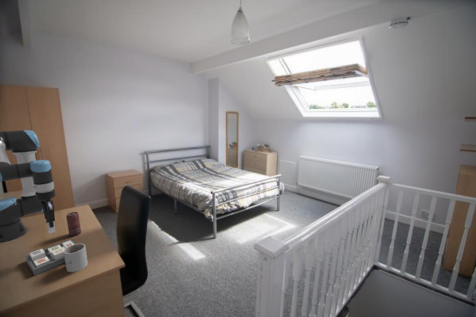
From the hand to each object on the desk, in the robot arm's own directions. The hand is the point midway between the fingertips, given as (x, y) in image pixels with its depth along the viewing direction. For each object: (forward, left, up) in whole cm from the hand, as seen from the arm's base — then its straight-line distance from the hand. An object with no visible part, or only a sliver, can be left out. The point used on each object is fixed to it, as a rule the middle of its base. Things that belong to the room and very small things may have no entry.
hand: (52, 232), depth 117 cm
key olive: (0, 0, -13) cm, 13 cm away
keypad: (+4, -1, -13) cm, 14 cm away
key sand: (+8, 0, -11) cm, 13 cm away
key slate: (0, -7, -11) cm, 13 cm away
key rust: (+8, -7, -13) cm, 16 cm away
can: (-15, +14, -13) cm, 24 cm away
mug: (+19, +4, -13) cm, 23 cm away
